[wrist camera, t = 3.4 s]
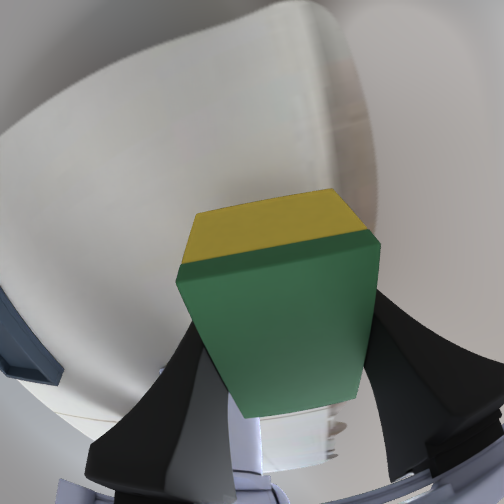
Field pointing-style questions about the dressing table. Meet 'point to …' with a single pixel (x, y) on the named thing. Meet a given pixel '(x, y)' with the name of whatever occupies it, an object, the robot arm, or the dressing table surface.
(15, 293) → the dressing table surface
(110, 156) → the dressing table surface
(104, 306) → the dressing table surface
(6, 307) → the tray
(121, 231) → the dressing table surface
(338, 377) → the sponge
